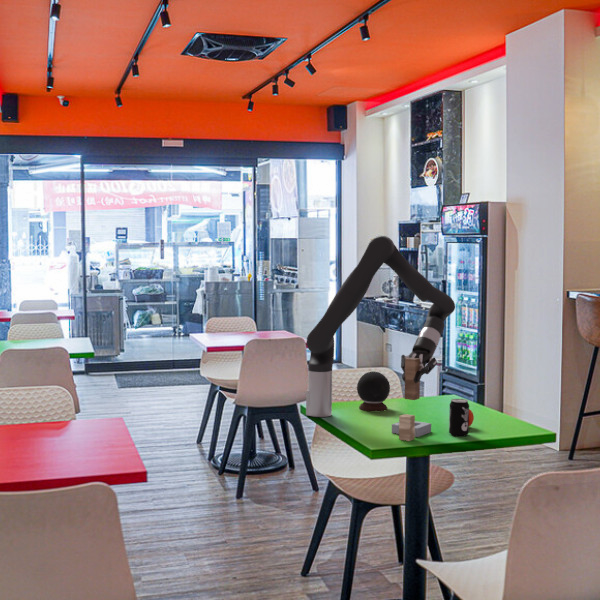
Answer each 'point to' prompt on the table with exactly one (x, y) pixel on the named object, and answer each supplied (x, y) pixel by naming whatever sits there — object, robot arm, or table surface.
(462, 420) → the beverage can
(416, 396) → the walnut peg
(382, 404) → the dark ball
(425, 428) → the socket block
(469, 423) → the apple
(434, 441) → the table surface
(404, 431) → the birch peg
